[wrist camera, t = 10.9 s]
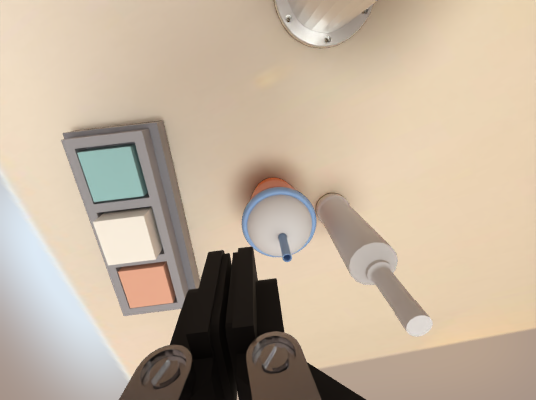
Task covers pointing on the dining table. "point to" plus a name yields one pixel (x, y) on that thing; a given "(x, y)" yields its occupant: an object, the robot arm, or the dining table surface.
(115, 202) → the keypad
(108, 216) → the cream key
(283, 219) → the cup with straw
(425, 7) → the dining table surface
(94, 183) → the teal key
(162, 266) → the terracotta key
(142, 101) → the dining table surface
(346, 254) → the bottle
